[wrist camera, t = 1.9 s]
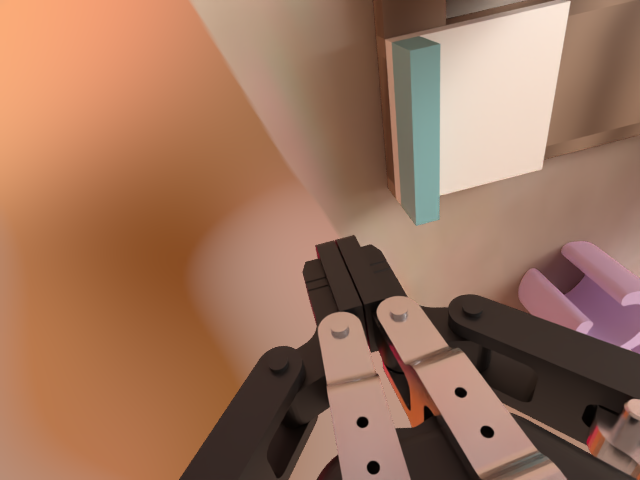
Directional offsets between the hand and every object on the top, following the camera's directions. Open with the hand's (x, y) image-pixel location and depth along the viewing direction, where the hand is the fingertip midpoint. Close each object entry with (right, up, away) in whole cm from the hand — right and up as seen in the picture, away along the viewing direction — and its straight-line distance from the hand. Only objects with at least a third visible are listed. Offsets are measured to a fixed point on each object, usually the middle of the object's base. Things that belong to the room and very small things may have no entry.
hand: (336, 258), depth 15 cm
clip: (+26, -6, +27) cm, 38 cm away
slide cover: (+9, +9, +10) cm, 16 cm away
